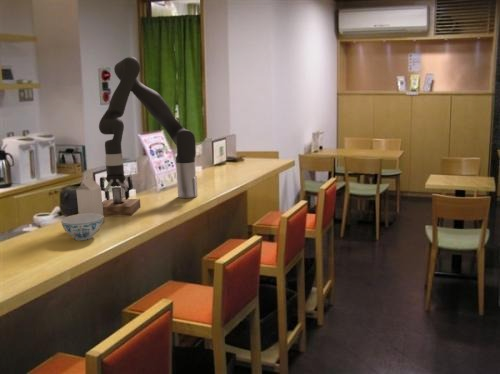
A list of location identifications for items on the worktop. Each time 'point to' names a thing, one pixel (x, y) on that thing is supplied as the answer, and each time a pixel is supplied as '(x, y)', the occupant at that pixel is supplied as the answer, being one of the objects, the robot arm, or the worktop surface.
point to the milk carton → (90, 198)
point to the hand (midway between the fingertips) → (117, 199)
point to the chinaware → (82, 225)
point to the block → (120, 207)
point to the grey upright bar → (117, 195)
